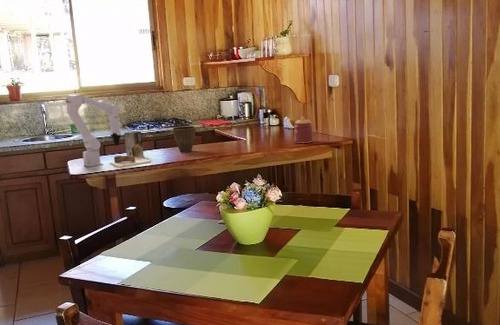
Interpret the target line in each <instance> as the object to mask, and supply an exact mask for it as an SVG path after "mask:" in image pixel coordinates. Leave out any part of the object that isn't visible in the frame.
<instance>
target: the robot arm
mask: <svg viewBox="0 0 500 325" xmlns="http://www.w3.org/2000/svg"><path fill="white" fill-rule="evenodd" d="M83 104H89V105H91V106H94V107H96V109H98V110H99V111H103V112H105V113H107V114H108V120H109V128H110V129H109V134H110V137H111V139H112V141H113V144H114V146H119V145H120V144H119V143H120V138H121V137H122V136H121V135H122V131H123V130H122V129H120V128H121V127H120V120H119V113H120V108H119V106H118V105H117V104H113V103H112V102H107V101H106V100H105V99H100V100H95V99H93V98H91V97H88V96H85V95H81V94H68V95H67V96H66V99H65V105H66V113H67V115H68V117H69V119H70V120H71V122H72V123H73V124H74V126H75V128H76V129H77V131H78V132H79V134H80V135H81V137H82V142H83V146H84V148H86V149H85V150H86V151H82V159H83V165H84V166H86V167H94V166H95V167H96V166H99V165H103V162H101V156H100V148H101V142H100V141H99V140H98V139H97V138H96V137H95V136H94V135H93V134H92V133H91V132H90V130H89V129H88V127H87V125H86V124H85V122H84V120H83V118H82V117H81V116H80V113H79V110H80V108H81V107H82V105H83Z"/></svg>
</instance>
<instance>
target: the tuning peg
mask: <svg viewBox="0 0 500 325" xmlns="http://www.w3.org/2000/svg"><path fill="white" fill-rule="evenodd" d="M113 159H114V161H115V162H122V161H124V162H134V161H135V156H127V155H115V156H113Z"/></svg>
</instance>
